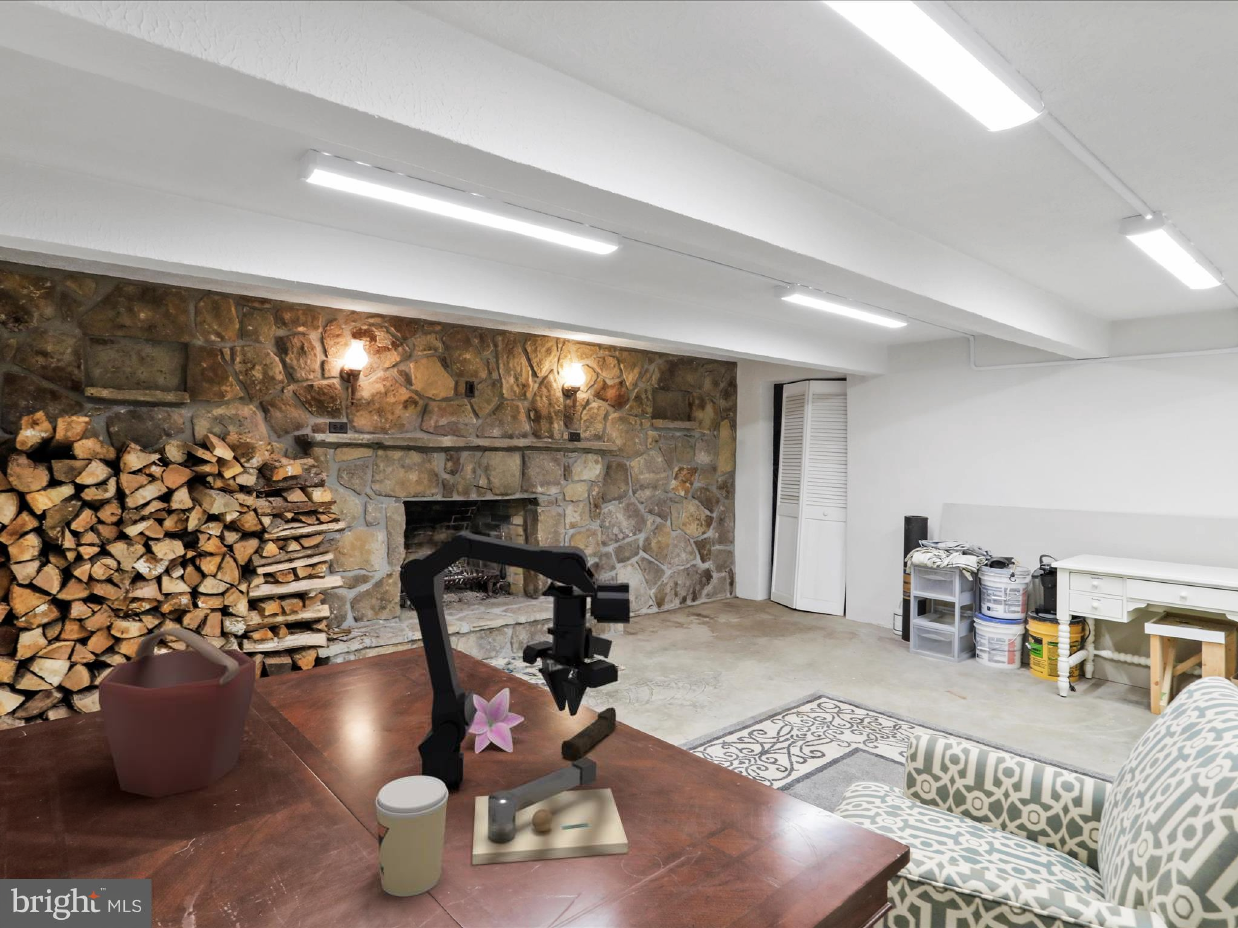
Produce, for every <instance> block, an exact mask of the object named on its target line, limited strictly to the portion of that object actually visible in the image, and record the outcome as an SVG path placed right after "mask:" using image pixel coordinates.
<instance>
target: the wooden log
mask: <svg viewBox="0 0 1238 928" xmlns="http://www.w3.org/2000/svg"><path fill="white" fill-rule="evenodd" d="M615 722H616V723H615ZM616 725H617V713H616V708H615V707H613V706H612V707H607V708H605V709H604V710H601V711H600V712H599V713H598V714H597V718H596V719H595V720H594V721H593V722H591V723H590V724H589V725H587V726H586V727H585V728H584V729H582V730H581V731H579V732H578V733H576V734H575V735H574V736H572V737H571V738H569V739H567V740H563V741H562V743H561V747H560V749H561V752H560V754H561V756H562V758H563V759H565V760H568V761H572V762H574V761H576V760H579V759H581V758H583V754H584V753H586V751H588V749H590V748H591V747H593V746H595V744H596V743H598V742H599V741H600V740H601V739H603V737H609V736H610V735H611V734H612V733H613V731H614V730H615V728H616Z"/></svg>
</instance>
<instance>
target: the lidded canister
mask: <svg viewBox="0 0 1238 928" xmlns="http://www.w3.org/2000/svg"><path fill="white" fill-rule="evenodd" d="M448 799H449V792H448V790H447V788H446V786H445V784H444V783H443V782H442V781H441V780H439V779H437V778H434V777H430V776H422V775H412V776H411V775H410V776H405V777H401V778H398V779H395V780H392V781H390V782H388V783H387V784H385V785H384V786H383V787H381V789H380V790H379V792H378V794H377V796H376V798H375V808H376V821H377V837H378V838H377V839H378V843H377V844H378V855H379V856H378V857H379V873H380V883H381V887H382V889H383V890H384V891H385V892H386V893H387V894H389V895H392V896H396V897H405V898H406V897H413V896H417V895H421V894H423V893H426V892H428V891H430V890H431V889H432V888H434V887H435V886H436V885H437V884H438V883H439V881H440V878H441V873H442V865H443V864H442V863H443V854H444V853H443V852H444V843H445V841H444V840H445V830H446V818H447V803H448Z"/></svg>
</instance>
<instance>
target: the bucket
mask: <svg viewBox="0 0 1238 928" xmlns="http://www.w3.org/2000/svg"><path fill="white" fill-rule="evenodd" d="M165 636H169V637H173V638H174V639H177V640H179V641H181V642H183V643H184V644H186V645H187V646H188V647H189V648H190V649H176V650H175V649H174V650H172V651H167V652H163V653H157V654H155V653H154V650H155V649H156V646H157V645H158V643H159V642H160V640H161V639H162V638H164V637H165ZM191 648H192V649H191ZM134 658H135V659H132V660H129V661H124V662H120V663H117V664H116V665H115V666H114V667H112V669H111V670H110V671H109V672H108V673H107V674H106V675H105V676H104V677H103V678H102V679H101V680H100V681H99V682H98V705H99V709H100V714H101V717H102V720H103V724H104V728H105V731H106V736H107V740H108V744H109V748H110V753H111V756H112V760H113V764H114V768H115V771H116V772H115V773H116V775H117V776H116V777H117V780H118V784H119V787H120V790H121V791H123V792H127V793H132V794H137V795H141V796H144V797H145V796H146V797H150V798H154V799H156V798H162V797H166V796H171V795H176V794H180V793H184V792H189V791H194V790H198V789H203V788H208V787H210V786H211V785H213V784H214V783H216V782H217V781H218V780H219V779H221V778H222V777H223V776H225V775H226V774H227V773H228V772H230V771H231V770H233V769H234V768H236V767H237V763H238V759H239V756H240V755H239V754H240V751H241V746H242V741H243V737H244V732H245V727H246V723H247V719H248V714H249V711H250V705H251V702H252V695H253V692H254V687H255V683H256V679H257V661H256V660H255V659H253V658H251V657H250V656H249V655H247V654H245V653H243V652H242V651H240V650H238V649H236V648H218V646H217V645H215V644H213V643H212V642H210V641H209V640H206V639H205V638H203V637H202V636H200V635H199V634H197V633H196V632H193V631H191V630H189V629H185V628H183V627H171V628H167V629H162V630H158V631H156V632H153V633H151V634H148V635H147V636H145V637H143V639H141V640H140V642H139V644H138V645H137V648H136V649H135V652H134Z"/></svg>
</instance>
